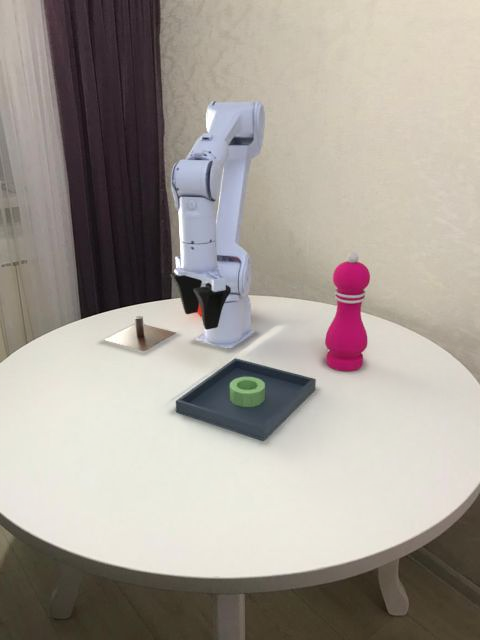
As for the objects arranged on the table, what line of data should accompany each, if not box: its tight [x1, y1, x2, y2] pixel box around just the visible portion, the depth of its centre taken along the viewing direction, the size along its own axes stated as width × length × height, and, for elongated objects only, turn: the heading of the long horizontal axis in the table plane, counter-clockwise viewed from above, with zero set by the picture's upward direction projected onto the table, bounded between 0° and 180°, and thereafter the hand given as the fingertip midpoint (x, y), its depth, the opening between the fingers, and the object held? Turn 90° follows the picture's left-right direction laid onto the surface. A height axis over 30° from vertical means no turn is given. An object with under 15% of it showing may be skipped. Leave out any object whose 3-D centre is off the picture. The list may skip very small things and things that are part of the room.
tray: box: [175, 357, 317, 442], centre depth 92 cm, size 17×15×2 cm
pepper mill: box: [324, 252, 371, 372], centre depth 100 cm, size 7×7×20 cm
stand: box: [103, 315, 177, 352], centre depth 113 cm, size 10×10×4 cm
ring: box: [230, 377, 265, 407], centre depth 91 cm, size 5×5×2 cm
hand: (200, 320), depth 98 cm, fingers open, 7 cm apart
